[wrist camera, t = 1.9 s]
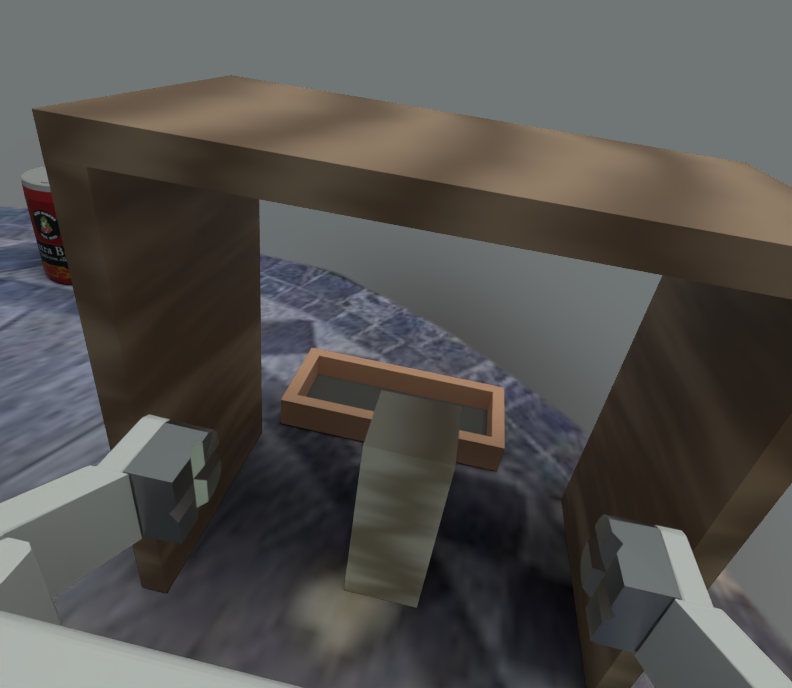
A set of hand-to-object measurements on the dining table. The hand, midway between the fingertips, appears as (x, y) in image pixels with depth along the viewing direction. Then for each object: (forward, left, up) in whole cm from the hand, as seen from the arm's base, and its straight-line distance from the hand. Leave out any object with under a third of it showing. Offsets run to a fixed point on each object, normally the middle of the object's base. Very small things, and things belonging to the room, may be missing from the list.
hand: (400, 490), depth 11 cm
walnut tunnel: (0, +15, -21) cm, 26 cm away
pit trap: (-2, +27, -21) cm, 34 cm away
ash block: (0, +13, -21) cm, 25 cm away
